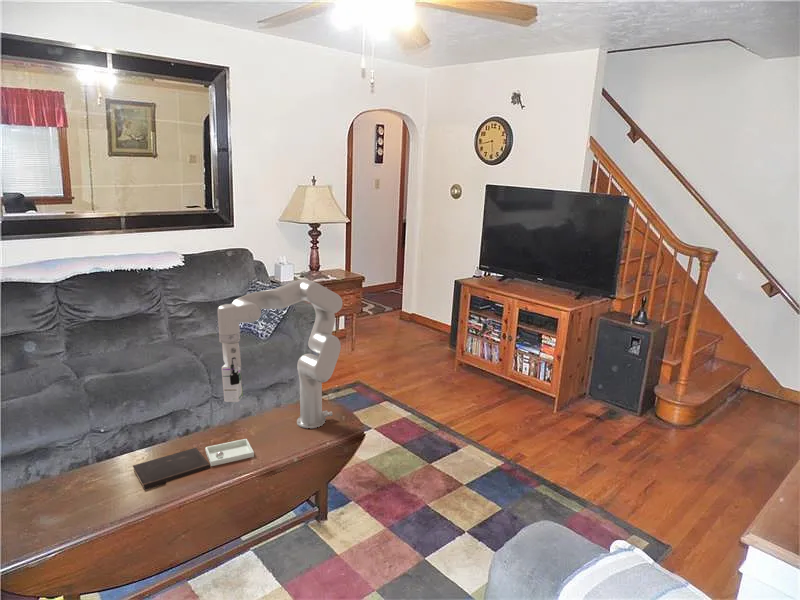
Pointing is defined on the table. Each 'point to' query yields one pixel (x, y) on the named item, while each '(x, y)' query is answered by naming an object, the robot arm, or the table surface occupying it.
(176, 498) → the table surface
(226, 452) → the tray
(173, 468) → the hardcover book
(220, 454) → the mixing ball
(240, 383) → the syrup box
